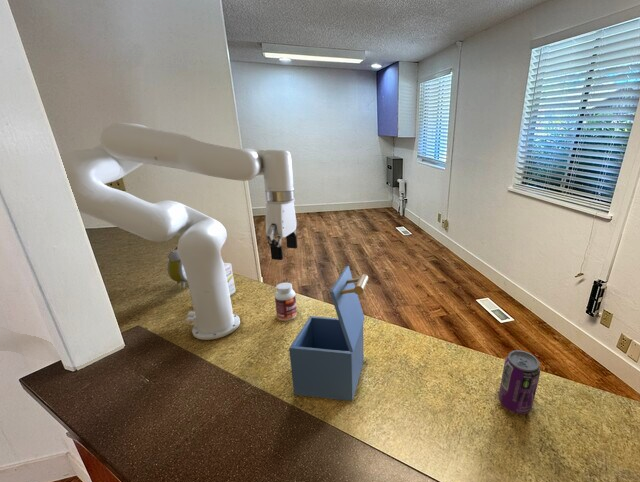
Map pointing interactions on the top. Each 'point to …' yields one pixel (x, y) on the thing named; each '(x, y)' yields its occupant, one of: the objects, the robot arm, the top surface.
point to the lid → (349, 305)
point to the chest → (325, 360)
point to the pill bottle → (285, 302)
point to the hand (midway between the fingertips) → (285, 253)
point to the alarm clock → (176, 268)
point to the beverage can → (519, 381)
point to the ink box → (229, 278)
